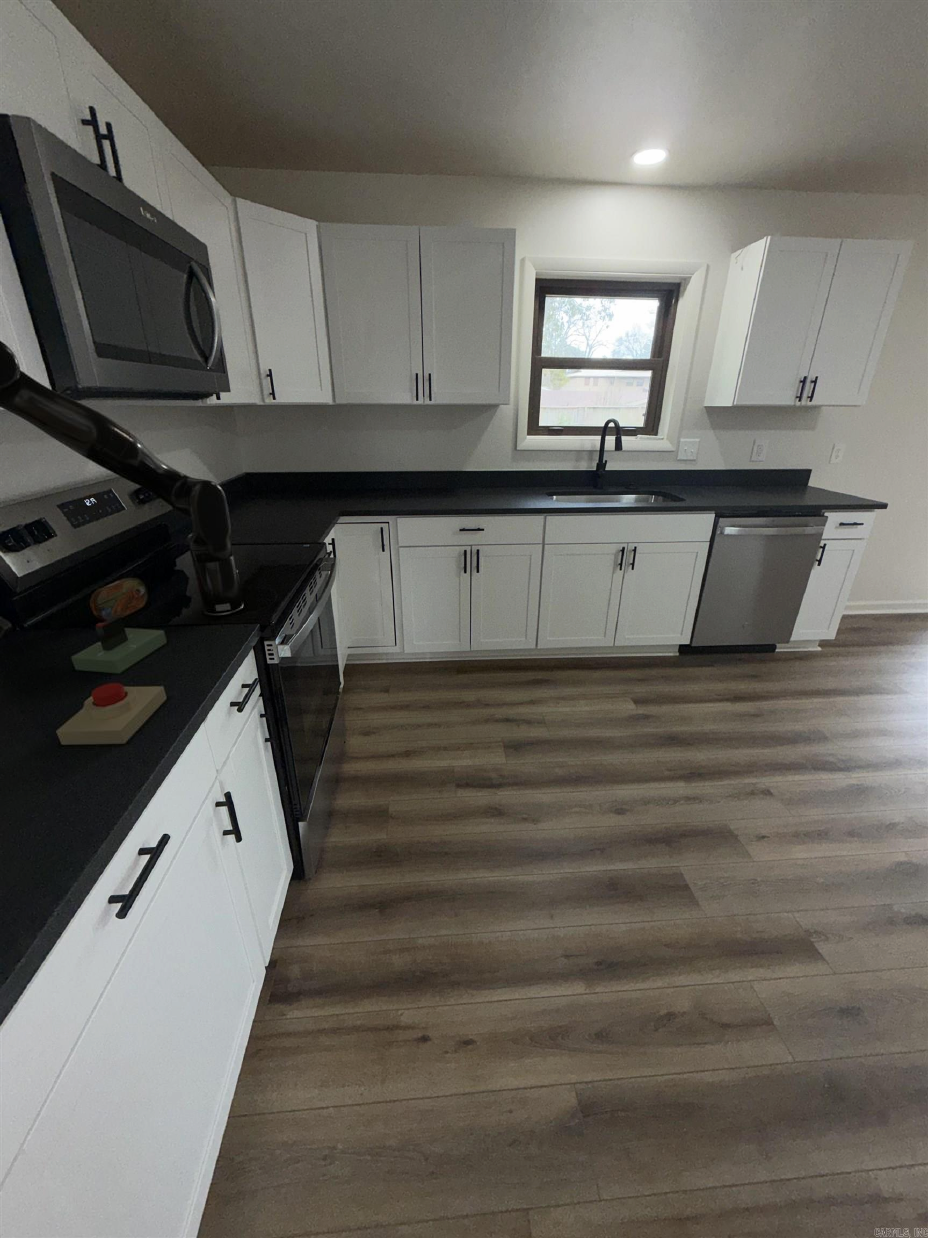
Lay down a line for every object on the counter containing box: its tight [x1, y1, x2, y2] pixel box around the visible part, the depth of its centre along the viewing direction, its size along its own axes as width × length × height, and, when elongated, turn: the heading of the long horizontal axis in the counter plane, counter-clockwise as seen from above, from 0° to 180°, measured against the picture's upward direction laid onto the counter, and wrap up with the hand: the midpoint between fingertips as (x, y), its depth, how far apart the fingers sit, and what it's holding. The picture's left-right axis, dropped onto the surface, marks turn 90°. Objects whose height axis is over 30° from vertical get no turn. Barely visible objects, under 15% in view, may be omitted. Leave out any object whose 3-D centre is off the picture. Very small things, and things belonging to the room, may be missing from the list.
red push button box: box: [55, 685, 168, 746], centre depth 84 cm, size 13×10×4 cm
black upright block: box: [94, 616, 128, 651], centre depth 103 cm, size 5×2×6 cm, turn 171°
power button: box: [91, 682, 126, 707], centre depth 83 cm, size 4×4×2 cm
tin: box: [89, 577, 149, 621], centre depth 125 cm, size 15×3×8 cm, turn 168°
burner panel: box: [70, 627, 168, 674], centre depth 106 cm, size 14×10×3 cm
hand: (6, 632), depth 77 cm, fingers closed
